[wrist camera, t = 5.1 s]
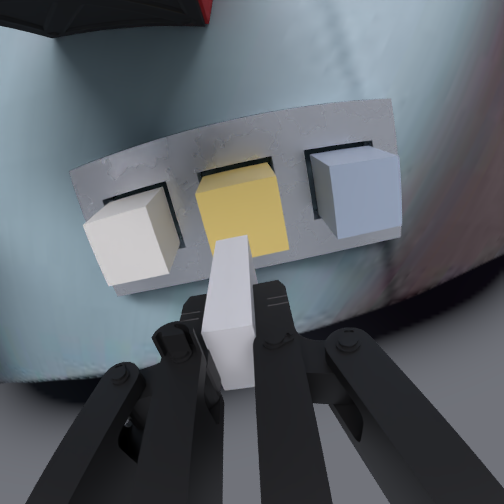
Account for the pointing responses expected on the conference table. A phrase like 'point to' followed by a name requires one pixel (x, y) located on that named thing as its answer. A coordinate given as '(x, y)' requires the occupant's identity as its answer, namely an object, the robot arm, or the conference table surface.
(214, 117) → the conference table surface
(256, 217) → the mustard key
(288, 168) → the key panel
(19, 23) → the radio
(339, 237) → the slate key
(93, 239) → the ivory key
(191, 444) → the robot arm
